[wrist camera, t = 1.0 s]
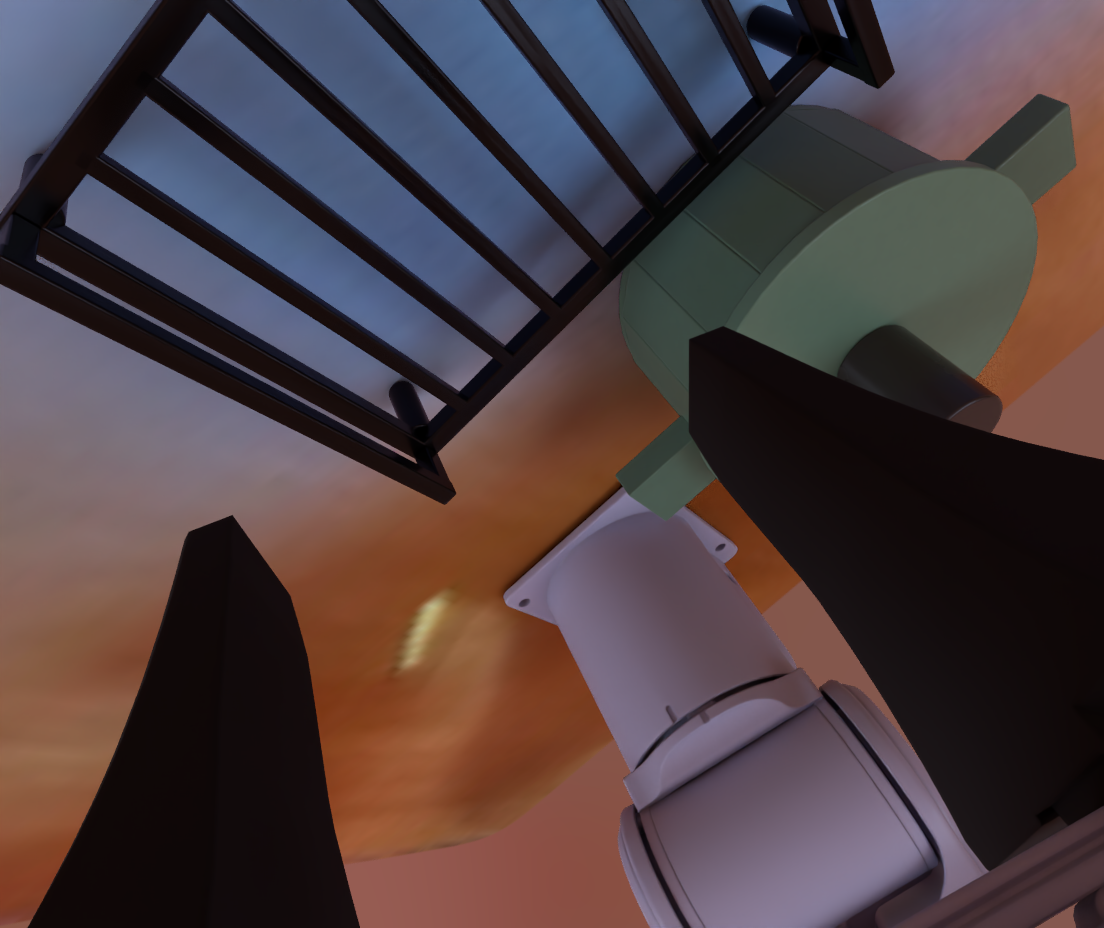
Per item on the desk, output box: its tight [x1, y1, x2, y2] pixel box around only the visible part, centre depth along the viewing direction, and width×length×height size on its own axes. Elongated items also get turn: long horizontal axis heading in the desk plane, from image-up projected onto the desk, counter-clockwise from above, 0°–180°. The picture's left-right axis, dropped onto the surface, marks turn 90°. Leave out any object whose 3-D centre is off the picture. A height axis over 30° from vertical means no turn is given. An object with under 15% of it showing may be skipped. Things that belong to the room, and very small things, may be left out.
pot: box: [616, 94, 1076, 521], centre depth 23 cm, size 10×15×5 cm, turn 129°
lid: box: [700, 160, 1038, 479], centre depth 20 cm, size 11×11×4 cm
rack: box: [0, 0, 895, 505], centre depth 16 cm, size 11×15×4 cm
